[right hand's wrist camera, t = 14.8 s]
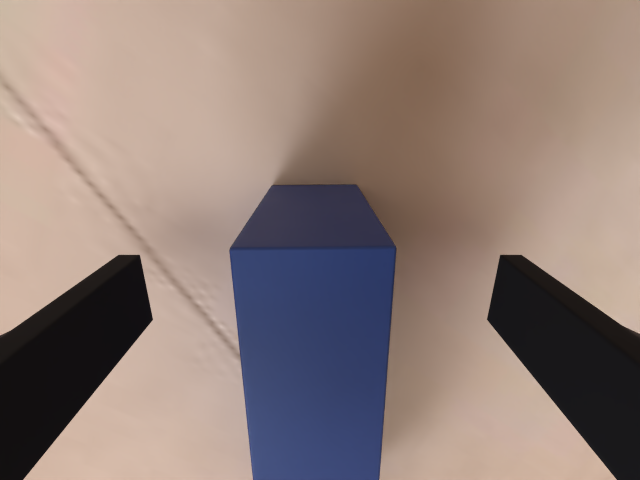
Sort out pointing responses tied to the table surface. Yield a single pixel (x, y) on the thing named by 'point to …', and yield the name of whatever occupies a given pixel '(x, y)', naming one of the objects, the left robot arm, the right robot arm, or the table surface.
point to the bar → (314, 332)
